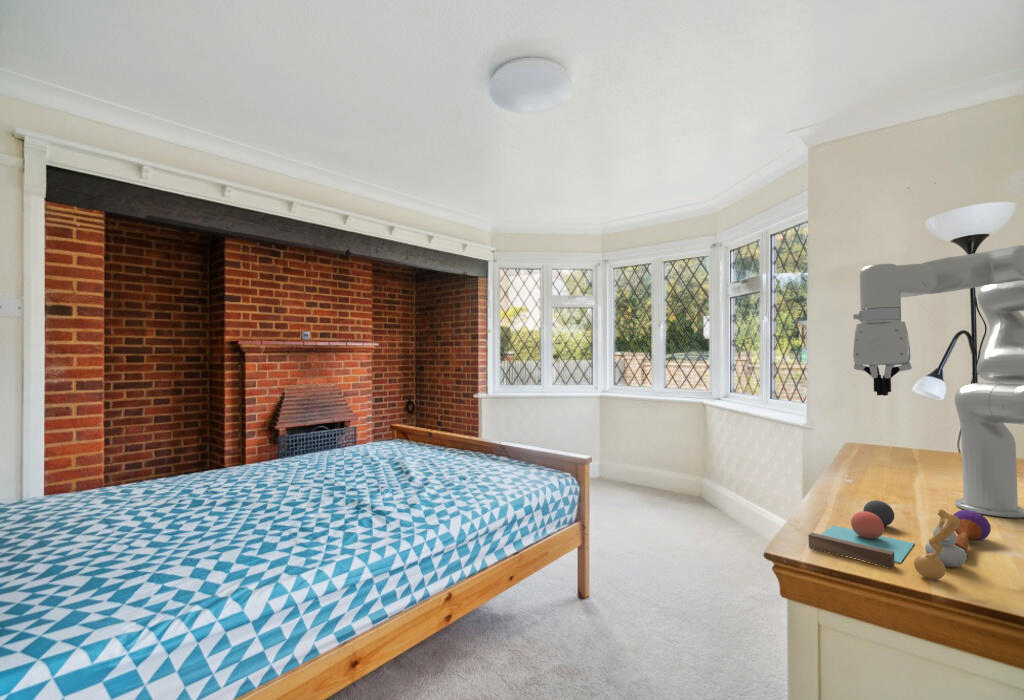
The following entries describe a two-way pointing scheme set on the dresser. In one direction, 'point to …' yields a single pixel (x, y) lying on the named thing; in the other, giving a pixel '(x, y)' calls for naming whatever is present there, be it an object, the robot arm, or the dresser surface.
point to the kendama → (971, 528)
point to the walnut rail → (852, 550)
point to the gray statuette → (948, 550)
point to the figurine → (936, 548)
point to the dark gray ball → (880, 511)
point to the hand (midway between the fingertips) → (882, 395)
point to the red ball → (867, 525)
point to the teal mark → (872, 541)
